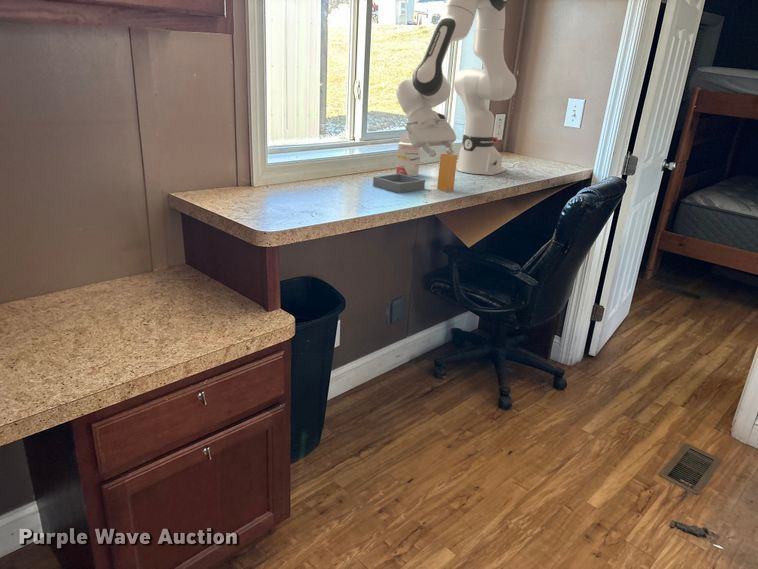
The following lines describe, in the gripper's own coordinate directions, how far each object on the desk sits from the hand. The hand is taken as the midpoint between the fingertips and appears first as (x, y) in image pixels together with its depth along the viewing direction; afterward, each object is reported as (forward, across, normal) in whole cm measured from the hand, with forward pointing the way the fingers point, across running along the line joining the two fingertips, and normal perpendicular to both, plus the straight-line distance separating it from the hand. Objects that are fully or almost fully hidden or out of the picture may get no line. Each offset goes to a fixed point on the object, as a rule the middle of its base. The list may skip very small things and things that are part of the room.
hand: (442, 154), depth 191 cm
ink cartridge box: (-8, +7, +24) cm, 26 cm away
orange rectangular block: (+10, 0, +6) cm, 12 cm away
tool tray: (+2, -12, +14) cm, 18 cm away
